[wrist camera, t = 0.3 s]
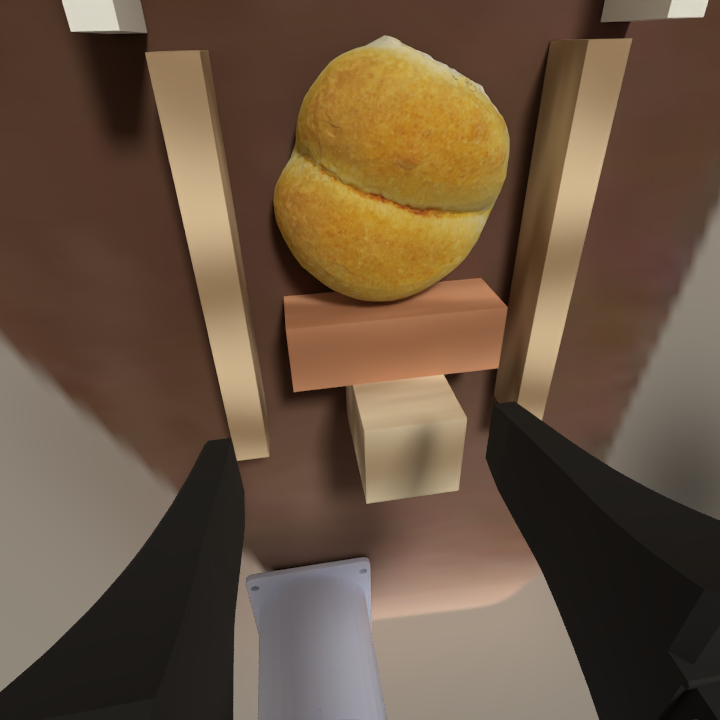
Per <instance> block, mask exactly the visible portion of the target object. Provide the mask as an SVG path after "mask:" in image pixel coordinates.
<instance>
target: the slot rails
mask: <svg viewBox="0 0 720 720" xmlns="http://www.w3.org/2000/svg"><path fill="white" fill-rule="evenodd" d="M631 42H632V39H577V40H551V41H550V47H549V53H548V59H547V66H546V72H545V78H544V84H543V91H542V97H541V103H540V109H539V115H538V122H537V128H536V134H535V140H534V147H533V153H532V159H531V165H530V172H529V178H528V184H527V190H526V197H525V203H524V209H523V215H522V222H521V228H520V234H519V240H518V246H517V253H516V259H515V265H514V271H513V278H512V284H511V290H510V296H509V303H508V309H507V316H506V322H505V329H504V335H503V341H502V348H501V354H500V361H499V367H498V371H497V377H496V384H495V390H494V397H495V398H496V400H497V401H498V403H504V402H512V401H515V402H516V403H518V404H519V405H521V406H522V407H524V408H525V409H526V410H528V411H529V412H531V413H532V414H533V415H535V416H536V417H537V418H539V419H540V420H541V421H542V418H543V413H544V409H545V405H546V401H547V397H548V392H549V388H550V384H551V380H552V375H553V371H554V367H555V363H556V359H557V354H558V350H559V346H560V342H561V337H562V333H563V329H564V325H565V321H566V316H567V312H568V308H569V304H570V299H571V295H572V291H573V287H574V283H575V278H576V274H577V270H578V266H579V261H580V257H581V253H582V249H583V245H584V240H585V236H586V232H587V228H588V223H589V219H590V215H591V211H592V207H593V202H594V198H595V194H596V190H597V185H598V181H599V177H600V173H601V169H602V164H603V160H604V156H605V152H606V148H607V143H608V139H609V135H610V131H611V126H612V122H613V118H614V114H615V110H616V105H617V101H618V97H619V93H620V88H621V84H622V80H623V76H624V72H625V67H626V63H627V59H628V55H629V50H630V46H631ZM145 55H146V59H147V64H148V68H149V73H150V77H151V82H152V86H153V90H154V95H155V99H156V104H157V108H158V113H159V117H160V122H161V126H162V131H163V135H164V139H165V144H166V148H167V153H168V157H169V162H170V166H171V171H172V175H173V180H174V184H175V189H176V193H177V197H178V202H179V206H180V211H181V215H182V220H183V224H184V229H185V233H186V238H187V242H188V247H189V251H190V255H191V260H192V264H193V269H194V273H195V278H196V282H197V287H198V291H199V296H200V300H201V305H202V309H203V313H204V318H205V322H206V327H207V331H208V336H209V340H210V345H211V349H212V354H213V358H214V363H215V367H216V371H217V376H218V380H219V385H220V389H221V394H222V398H223V403H224V407H225V412H226V416H227V421H228V425H229V429H230V434H231V438H232V442H233V446H234V450H235V454H236V459H237V461H240V460H248V459H256V458H263V457H269V419H268V413H267V407H266V401H265V395H264V388H263V382H262V376H261V370H260V364H259V358H258V352H257V346H256V340H255V333H254V327H253V321H252V315H251V309H250V303H249V297H248V291H247V285H246V278H245V272H244V266H243V260H242V254H241V248H240V242H239V236H238V230H237V223H236V217H235V211H234V205H233V199H232V193H231V187H230V181H229V175H228V169H227V162H226V156H225V150H224V144H223V138H222V132H221V126H220V120H219V114H218V107H217V101H216V95H215V89H214V83H213V77H212V71H211V65H210V59H209V52H208V50H190V51H158V52H145Z"/></svg>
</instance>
